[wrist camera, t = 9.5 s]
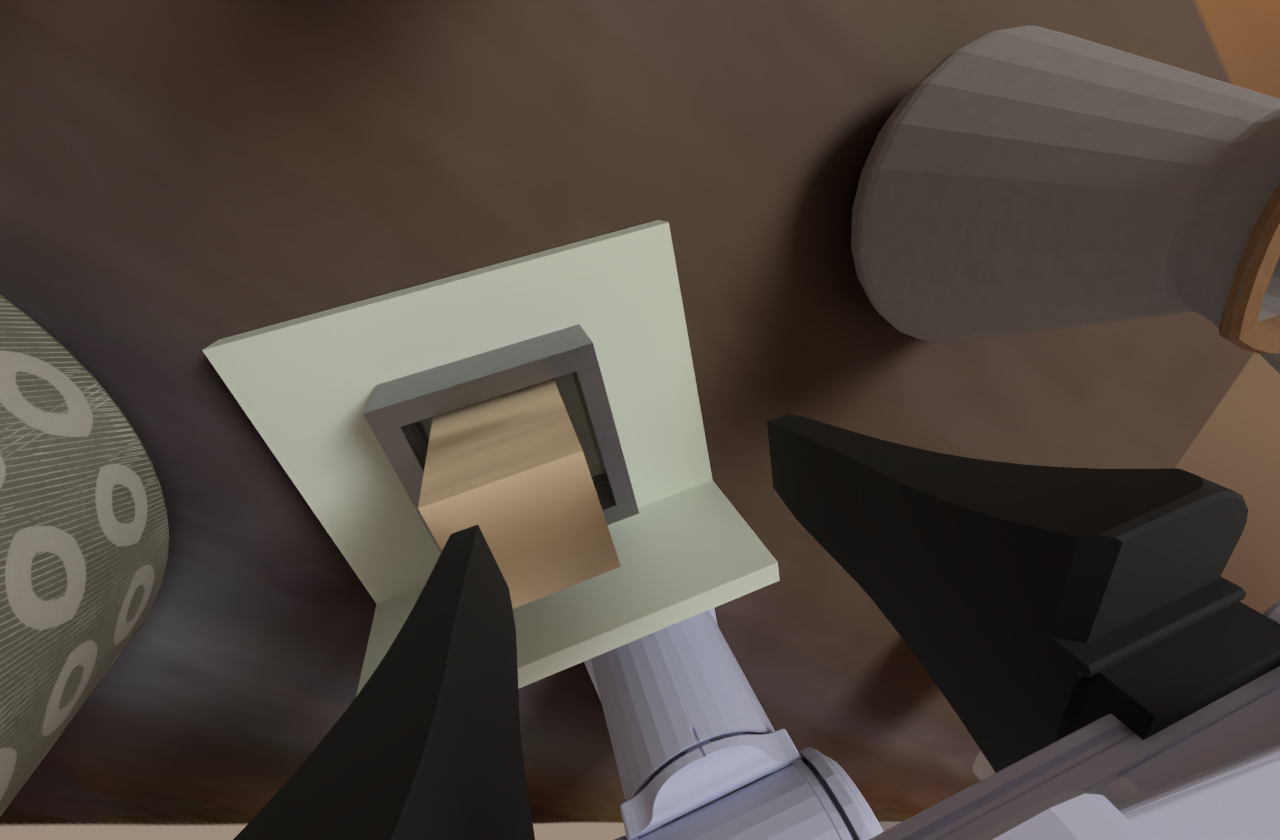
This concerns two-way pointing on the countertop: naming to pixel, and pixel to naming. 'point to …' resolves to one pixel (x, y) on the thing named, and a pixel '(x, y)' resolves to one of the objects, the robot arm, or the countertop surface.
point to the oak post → (518, 490)
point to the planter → (65, 540)
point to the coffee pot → (1071, 196)
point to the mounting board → (638, 396)
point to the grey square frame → (491, 376)
